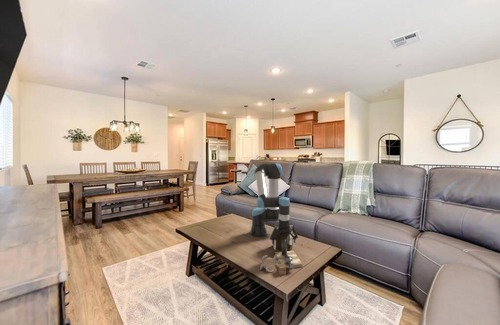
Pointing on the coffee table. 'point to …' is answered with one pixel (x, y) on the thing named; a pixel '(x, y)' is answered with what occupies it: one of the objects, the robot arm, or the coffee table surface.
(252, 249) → the coffee table surface
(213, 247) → the coffee table surface
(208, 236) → the coffee table surface
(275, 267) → the beige animal figurine
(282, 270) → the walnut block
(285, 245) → the lever
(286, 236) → the wooden container
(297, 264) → the board
